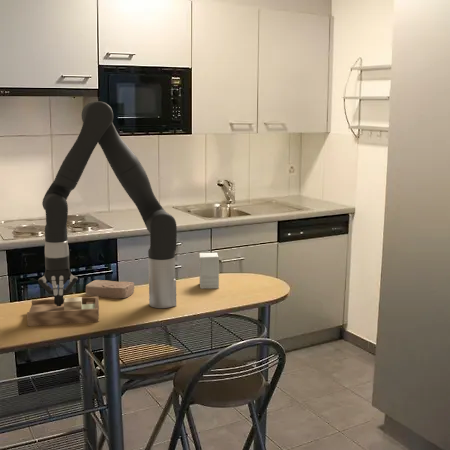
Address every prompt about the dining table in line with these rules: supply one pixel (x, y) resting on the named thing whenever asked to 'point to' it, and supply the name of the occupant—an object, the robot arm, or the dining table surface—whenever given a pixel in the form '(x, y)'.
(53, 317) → the tray
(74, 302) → the block
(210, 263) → the supplement box
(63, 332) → the dining table surface
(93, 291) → the brick
